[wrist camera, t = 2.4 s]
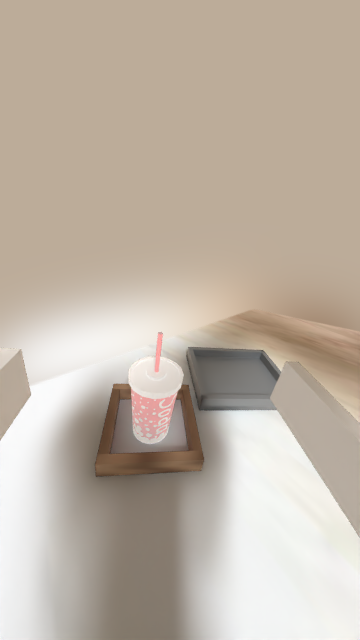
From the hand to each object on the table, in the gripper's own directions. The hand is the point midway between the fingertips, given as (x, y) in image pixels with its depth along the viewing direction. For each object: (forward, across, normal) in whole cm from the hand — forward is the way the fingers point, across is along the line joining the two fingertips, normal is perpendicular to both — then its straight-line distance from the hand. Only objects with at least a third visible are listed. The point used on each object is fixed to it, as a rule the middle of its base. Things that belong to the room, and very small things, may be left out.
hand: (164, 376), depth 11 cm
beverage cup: (+10, +1, -17) cm, 20 cm away
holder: (+10, +1, -17) cm, 20 cm away
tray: (+19, +16, -17) cm, 30 cm away
